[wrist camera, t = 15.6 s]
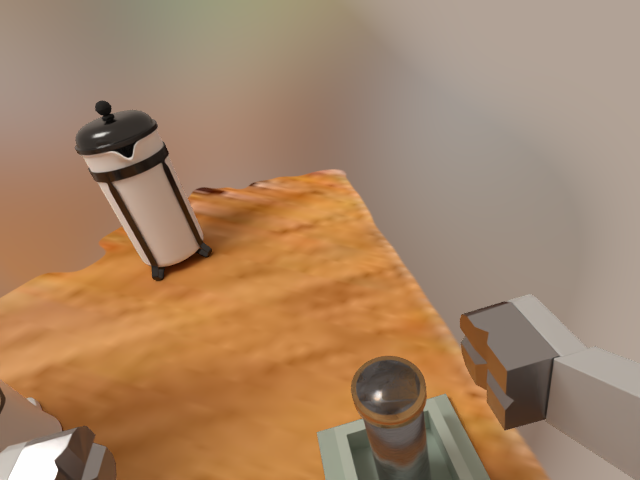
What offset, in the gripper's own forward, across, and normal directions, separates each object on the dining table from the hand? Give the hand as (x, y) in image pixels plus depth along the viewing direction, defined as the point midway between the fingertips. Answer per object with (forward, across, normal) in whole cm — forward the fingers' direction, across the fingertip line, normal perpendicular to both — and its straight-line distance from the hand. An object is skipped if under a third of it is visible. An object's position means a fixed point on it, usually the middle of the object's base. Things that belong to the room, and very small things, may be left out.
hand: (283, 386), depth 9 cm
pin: (+13, +4, -32) cm, 34 cm away
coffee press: (+65, -24, -31) cm, 76 cm away
